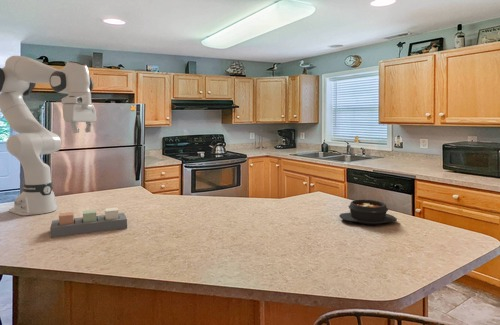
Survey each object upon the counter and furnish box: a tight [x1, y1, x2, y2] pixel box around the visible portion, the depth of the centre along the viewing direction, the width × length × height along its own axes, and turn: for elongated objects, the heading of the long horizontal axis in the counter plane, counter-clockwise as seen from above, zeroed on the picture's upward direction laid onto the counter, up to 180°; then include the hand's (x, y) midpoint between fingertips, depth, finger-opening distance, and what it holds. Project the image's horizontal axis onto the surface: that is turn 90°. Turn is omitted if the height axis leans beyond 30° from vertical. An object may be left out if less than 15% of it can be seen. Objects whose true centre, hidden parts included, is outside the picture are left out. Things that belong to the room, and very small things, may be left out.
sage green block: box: [82, 209, 97, 223], centre depth 144 cm, size 5×5×5 cm
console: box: [49, 212, 128, 239], centre depth 145 cm, size 28×11×4 cm, turn 116°
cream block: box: [104, 207, 119, 220], centre depth 148 cm, size 5×5×5 cm
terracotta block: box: [58, 211, 75, 225], centre depth 141 cm, size 5×5×5 cm
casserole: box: [338, 199, 398, 226], centre depth 157 cm, size 25×19×8 cm
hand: (82, 132), depth 150 cm, fingers open, 8 cm apart
